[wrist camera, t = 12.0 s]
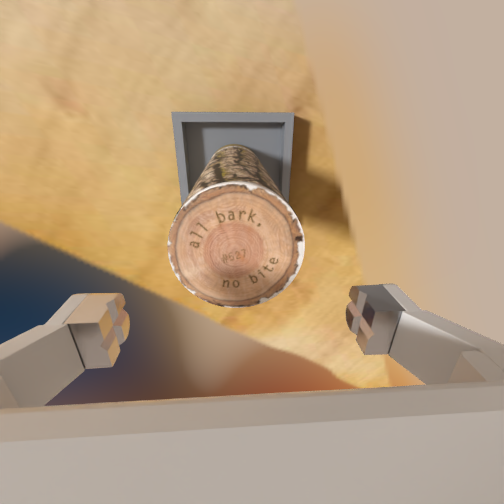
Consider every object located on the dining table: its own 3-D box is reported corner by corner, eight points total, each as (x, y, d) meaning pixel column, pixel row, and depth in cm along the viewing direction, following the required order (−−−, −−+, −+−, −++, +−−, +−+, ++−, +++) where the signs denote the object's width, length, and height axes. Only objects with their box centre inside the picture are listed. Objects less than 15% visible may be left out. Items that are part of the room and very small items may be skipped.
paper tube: (202, 151, 34) (143, 205, 12) (253, 137, 34) (292, 165, 12) (217, 201, 37) (194, 320, 15) (265, 188, 37) (314, 291, 15)
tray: (176, 112, 33) (171, 111, 30) (289, 113, 34) (294, 112, 31) (187, 221, 39) (184, 228, 36) (283, 219, 40) (286, 226, 37)
